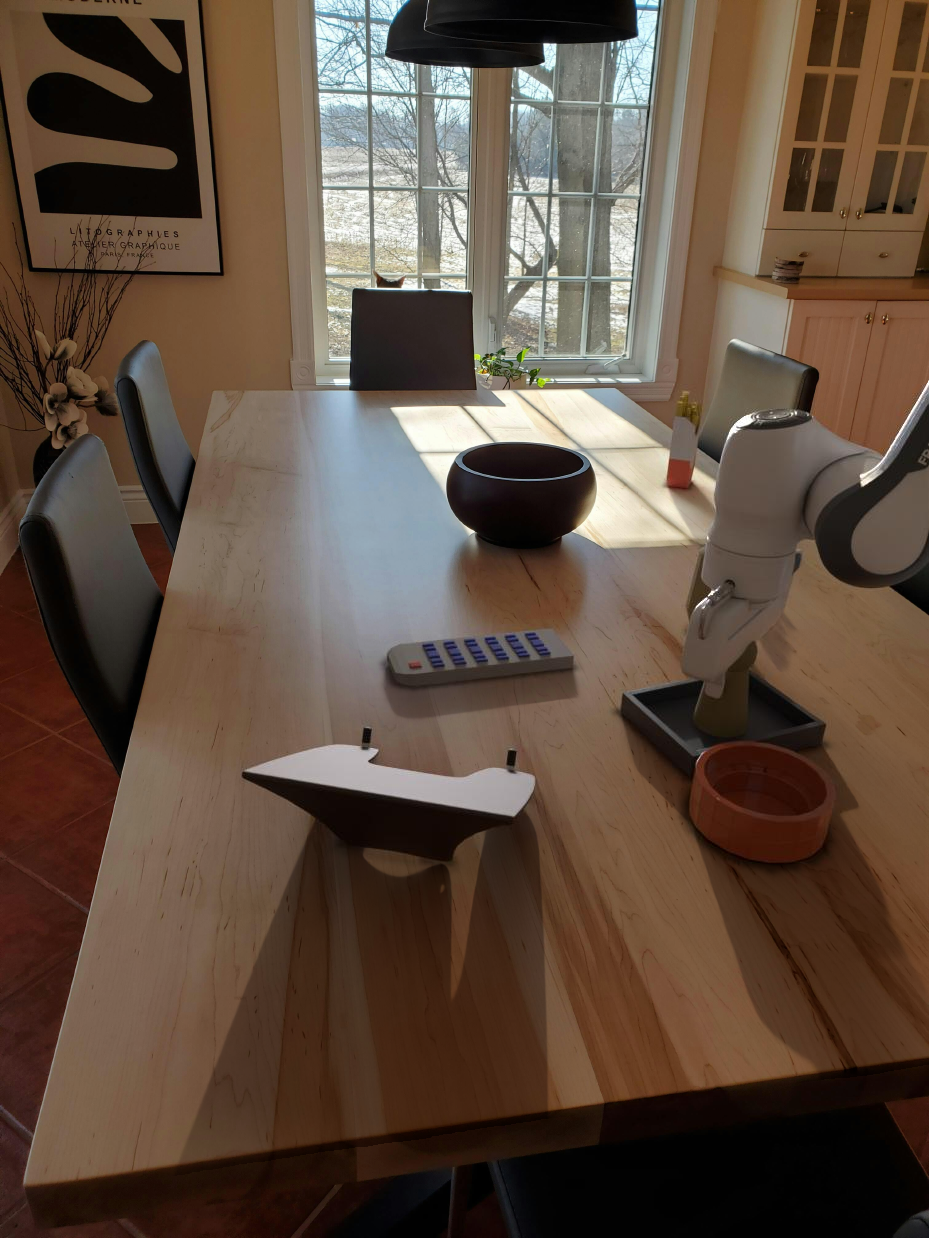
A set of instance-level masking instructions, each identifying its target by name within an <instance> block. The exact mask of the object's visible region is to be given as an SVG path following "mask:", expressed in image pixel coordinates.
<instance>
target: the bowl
mask: <svg viewBox="0 0 929 1238" xmlns="http://www.w3.org/2000/svg"><path fill="white" fill-rule="evenodd" d="M834 785H835V784H834V783H833V781H832V780H831V778H830V776H829V775H828V774H827V772H826V771H825V770H824V769H823V768H822V767H820V766H819V765H817V764H816V763H815V762H813V761H812V760H811V759H809V758H807V757H806V756H804V755H802V754H800V753H797V752H796V751H792V750H789V749H785V748H782V747H779V746H776V745H772V744H767V743H760V742H753V741H732V742H727V743H723V744H719V745H715V746H713V747H711V748H709V749H708V750H706V751H704V752H703V753H702V754H701V756H700V757H699V759H698V760H697V762H696V766H695V772H694V776H693V779H692V784H691V791H690V796H689V805H688V806H689V810H688V811H689V816H690V818H691V820H692V822H693V824H694V826H695V828H696V829H697V830H698V831H699V832H700V833H701V834H702V835H703V837H705V838H706V839H707V840H708V841H710V842H711V843H713V844H715V845H716V846H718V847H720V848H721V849H723V850H724V851H726V852H728V853H730V854H733V855H736V856H738V857H741V858H744V859H747V860H750V861H756V862H763V863H768V864H780V863H782V864H783V863H795V862H798V861H801V860H804V859H807V858H810V857H812V856H813V855H815V854H816V853H817V852H818V851H819V850H820V849H822V848H823V845H824V842H825V840H826V837H827V834H828V829H829V826H830V820H831V817H832V815H833V809H834V806H835V802H836V798H837V794H836V789H835V786H834Z"/></svg>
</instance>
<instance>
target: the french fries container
mask: <svg viewBox="0 0 929 1238" xmlns="http://www.w3.org/2000/svg"><path fill="white" fill-rule="evenodd" d="M681 394H682V395H680V396H679V400H678V401H677V403H676V412H675V415H674V417H673V424H672V433H671V440H670V448H669V457H668V463H667V472H666V486H667V487H672V488H673V487H674V488H680V489H686V490H687V489H689V486H690V484H691V483H692V479H693V474H694V470H695V465H696V459H697V458H696V457H697V452H698V444H699V438H700V437H699V436H700V430H701V423H702V413H703V403H701V402H694V401H693V402H692V403H689V398H690V391H686V390H682V392H681Z"/></svg>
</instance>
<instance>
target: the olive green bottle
mask: <svg viewBox="0 0 929 1238" xmlns="http://www.w3.org/2000/svg"><path fill="white" fill-rule="evenodd" d="M757 656H758V646H757V644H756V643H755V641H752V642H751V643H750V644H749V645H748V647H747V648H746V650H745V651H744V653H743V654H742V656H740V657H739V658H738V659H737V660H736V661H735V662H734V663H733V664H732V665H731V666H730V667H729V668H728V670H727V671H726V672H725V680H728V681H727V686H726V692H725V693H724V694H723V695H722V696H721V697H720V698H718V699H717V698H714V697H711V696H708V695H707V694H706V693H705V687H706V682H704V684H703V687H702V690H701V693H700V696H699V699H698V702H697V705H696V708H695V711H694V714H693V718H692V720H693V724H694V725H695V726H696V727H697V728H698V729H700V730H701V731H703V732H705V733H707V734H710V735H712V736H717V737H725V738H731V737H737V736H740V735H742V734H744V732H745V731H746V730H747V715H748V687H749V669H750V668H751V667H752V666H753V665H754V664H755V662H756V660H757Z"/></svg>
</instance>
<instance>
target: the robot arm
mask: <svg viewBox="0 0 929 1238" xmlns="http://www.w3.org/2000/svg"><path fill="white" fill-rule="evenodd" d="M717 469H718V470H717V475H716V478H715V479H716V480H715V485H714V492H713V502H714V517H713V521H712V523H711V524H710V527H709V529H708V532H707V537H706V542H705V543H706V544H705V546H706V549H705V556H704V561H703V568H702V574H701V578H702V581H703V582H704V583H705V584H706V585H707V586H708V587H710V588H711V593H710V594H709V595H708V597H707V598H706V599H704V600H703V601H702V602H700V603H699V604H698V605H697V606H696V608H695V609H694V611H693V613H692V616H691V619H690V622H689V621H688V627H687V630H686V635H685V639H684V643H683V648H682V654H681V659H680V670H681V673H682V674H683V675H685V676H687V677H689V678H691V679H692V678H695V679H698V680H701V681H704V682H706V687H705V693H706V694H707V695H708V696H711V697H714V698H717V699H718V698H720V697H721V696H722V695H723V694H724V693H725V692H726V686H727V681H728V680H725V672H726V671H727V670H728V668H729V667H730V666H731V665H732V664H733V663H734V662H735V661H736V660H737V659H738V658H739V657H740V656H742V654H743V653H744V651H745V650H746V648H747V647H748V645H749V644H750V643H751V642H752V641H755V643H756V645H757V643H758V640H760V639H761V638H762V637H763V636H764V635H765V634H767V632H768V631H769V630H770V629H771V628H773V627H774V625H775V624H776V623H778V622H779V620H780V618H781V617H782V615H783V613H784V610H785V608H786V604H787V601H788V597H789V595H790V590H791V587H792V583H793V580H794V577H795V576H794V575H795V573H796V572H797V571H798V570H799V569H800V567H801V565H802V561H803V555H804V551H803V550H802V549H799V548H798V545H799V543H800V542H801V541H804V540H809V541H814V542H815V546H816V549H817V553H818V555H819V559H820V561H821V563H822V565H823V567H824V568H825V569H826V571H827V572H828V573H829V574H830V575H831V576H832V577H834V578H835V579H837V580H838V581H840V582H841V583H843V584H846V585H848V586H850V587H851V586H852V587H856V588H860V589H882V588H888V587H891V586H895V585H898V584H900V583H903V582H904V581H906V580H909V579H910V578H912V577H913V576H915V575H917V573H919V572H920V571H922V570H923V568H925V567H926V566H927V564H928V563H929V381H928V382H927V383H926V386H925V387H924V389H923V391H922V393H921V394H920V396H919V398H918V399H917V401H916V403H915V405H914V406H913V408H912V410H910V413H909V415H908V416H907V418H906V420H905V421H904V424H903V425H902V427H901V428H900V430H899V432H898V434H897V435H896V436H895V439H894V440H893V442H892V444H891V445H890V447H889V449H888V450H887V452H886V454H885V455H884V456H883V455H882V454H881V453H879V452H878V451H876V450H874V449H871V448H869V447H865V446H863V445H859V444H857V443H854V442H851V441H849V440H847V439H844V438H842V437H840V436H839V435H837V434H835V433H834V432H832V431H831V430H830V429H828V428H827V427H825V426H824V425H822V424H821V423H820V422H819V421H818V420H817V419H816V418H815V417H814V416H813V414H811V413H810V412H808V411H804V410H800V409H790V408H789V409H788V408H770V409H764V410H759V411H758V410H757V411H754V412H752V413H750V414H747V415H745V416H743V417H742V418H740V419H738V421H736V422H735V423H734V424H733V426H732V427H731V429H730V430H729V432H728V434H727V437H726V439H725V441H724V446H723V449H722V453H721V457H720V461H719V465H718V468H717Z"/></svg>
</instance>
